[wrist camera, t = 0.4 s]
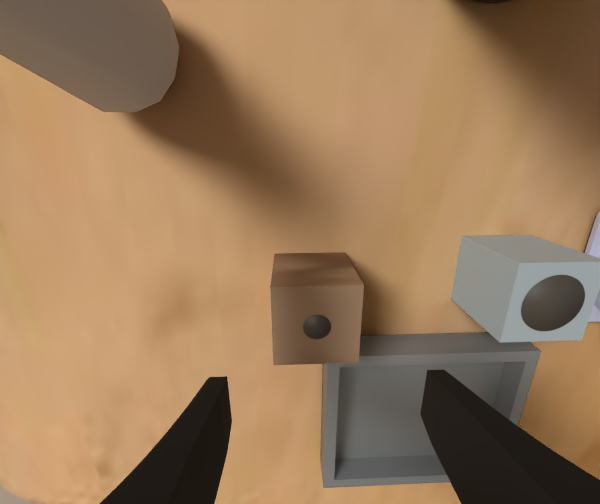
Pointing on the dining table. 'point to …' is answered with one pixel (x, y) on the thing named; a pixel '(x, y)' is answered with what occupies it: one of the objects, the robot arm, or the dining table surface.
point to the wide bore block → (526, 287)
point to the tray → (409, 402)
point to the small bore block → (315, 309)
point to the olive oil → (491, 1)
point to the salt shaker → (94, 48)
